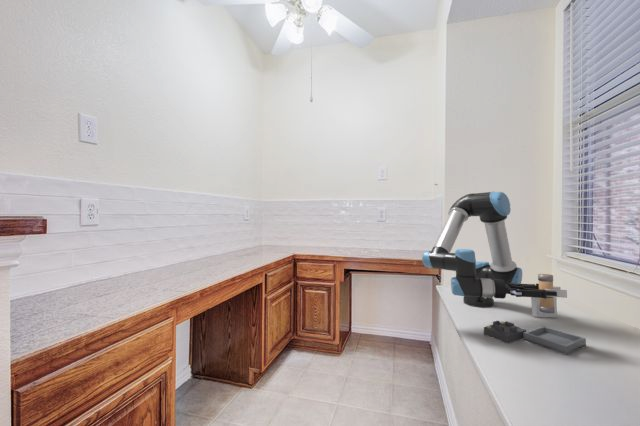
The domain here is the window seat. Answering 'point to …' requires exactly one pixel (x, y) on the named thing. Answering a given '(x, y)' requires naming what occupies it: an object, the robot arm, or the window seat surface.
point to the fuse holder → (504, 331)
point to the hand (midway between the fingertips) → (563, 292)
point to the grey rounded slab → (538, 313)
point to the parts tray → (555, 340)
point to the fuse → (547, 303)
